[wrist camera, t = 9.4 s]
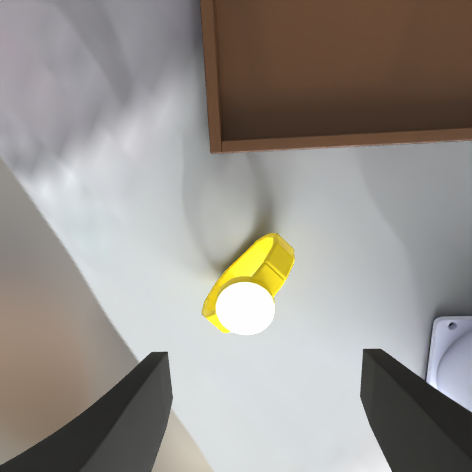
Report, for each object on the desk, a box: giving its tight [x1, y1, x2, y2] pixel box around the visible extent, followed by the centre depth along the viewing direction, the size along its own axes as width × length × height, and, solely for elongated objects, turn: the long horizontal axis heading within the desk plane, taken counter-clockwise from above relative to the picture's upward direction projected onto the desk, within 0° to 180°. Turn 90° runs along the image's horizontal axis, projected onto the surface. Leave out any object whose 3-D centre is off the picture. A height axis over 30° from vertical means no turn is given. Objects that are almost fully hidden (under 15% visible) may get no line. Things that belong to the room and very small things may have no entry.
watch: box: [202, 233, 295, 335], centre depth 17 cm, size 6×3×6 cm, turn 137°
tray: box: [200, 0, 472, 154], centre depth 15 cm, size 17×12×2 cm
